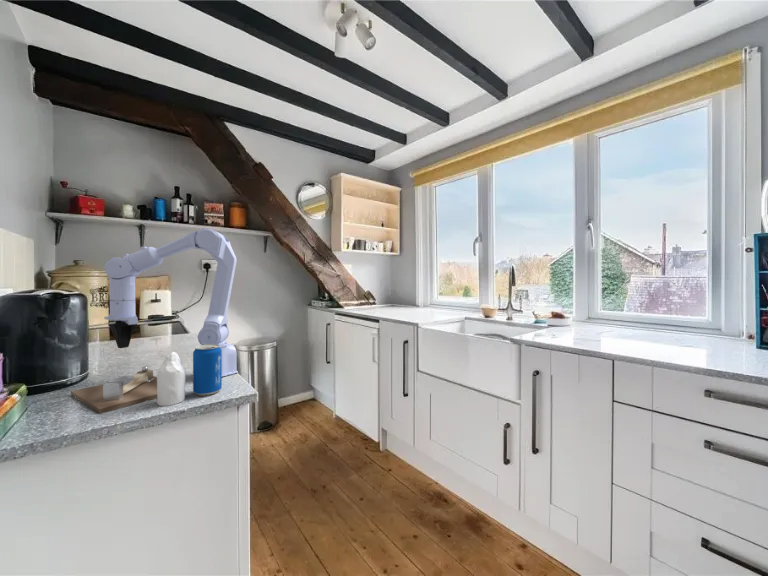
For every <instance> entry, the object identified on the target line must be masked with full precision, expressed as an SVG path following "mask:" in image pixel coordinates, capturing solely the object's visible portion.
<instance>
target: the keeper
mask: <svg viewBox="0 0 768 576" xmlns="http://www.w3.org/2000/svg"><path fill="white" fill-rule="evenodd" d="M148 370H149V366H147V365H146V366H142V367H141V371H148ZM153 379H154V378H152V379H150V380H147V381H145V382H148V381H151V380H153ZM132 380H134V376H133V375H119V376H117V377H115V378H113V379H111V380H109V381H107V382H105V383H103V401H106V400H120V399H121V398H123V385H125V384H127V383H129V382H131V381H132Z"/></svg>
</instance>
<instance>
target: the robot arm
mask: <svg viewBox="0 0 768 576" xmlns="http://www.w3.org/2000/svg"><path fill="white" fill-rule="evenodd" d="M139 248H140V250H137V251H135V252H132V253H130V254H129V253H125V254H123V258H121V257H112V258H111V259H109V260H108V261H106V263H104V264H105V265H104V271H105V274H106V275H107V276H108V277H109V315H108V316H104V320H109V322H114V323H108V327H109V329H110V330H111V332H112V334H113V337H114V340H115V343H116V346H117V348H118V349H124V348H126V349H127V348H129V346H130V344H131V339H132V336H133V333H134V331H135V329H136V328H137V326H138V323H139V322H138V320H139V319H138V318H139V317H138V316H137V314H136V278H137V277H138V275H139V274H141V273H144V272H146V271H148V270H150V269H154V268H155V267H158V266H161V265H162V264H163V262H164V259H167V258H169V257H171V256H175V255H177V254H180V253H183V252H186V251H188V250H192V249H193V250H204V251H205V252H206V253H208V254H210V256H211V257H212V258H213V259H214V260H215V261H216V264H217V265H216V271H215V276H214V279H213V280H214V282H213V287H212V290H211V291H212V292H211V296H210V297H211V298H210V302H209V306H208V307H209V308H208V314H207V316H206V318H205V319H204V320H203V321H204V322H203V327H202V328H201V329H200V330H199V332H198V335H197V340H198V343H199V345H207V344H217V345H220V348H221V350H222V378H223V377H226V376H231V375H234V374H238V373H239V371H238V370H237V369H238V368H237V365H238V363H237V362H238V361H237V360H238V359H237V358H238V356H237V355H238V353H237V349H236V347H235V345H233V343H228V342H227V338H229V334H230V329H229V326H228V321H229V319H228V309H229V306H230V301H231V294H232V288H233V283H234V280H235V279H234V278H235V272H236V267H237V256H236V254H235V251H234V250H233V248H232V245H231V241H230V240H229V239H228V238H227V237H226V236H225V235H224V234H222V233H220V232H218V231H216V230H214V229H213V228H210V227H209V228H208V227H205V228H201V229H199V230H195V231H192V232H190V233H188V234H186V235H184V236H181V237H180V238H177V239H175V240H173V241H171V242H168V243H166V244H164V245H162V246H160V247H157V248H156V247H153V246H142V247H139ZM233 370H234V371H236V373H235V372H234V371H233Z"/></svg>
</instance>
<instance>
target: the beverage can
mask: <svg viewBox="0 0 768 576" xmlns="http://www.w3.org/2000/svg"><path fill="white" fill-rule="evenodd" d="M194 348H195V349H194V351H193V352H192V389H193V390H192V392H193V393H194V394H196V395H197V396H199V397H204V396H205V395H207V396H211V395H210V394H212V395H215V394H217V393H219V391H221V390H222V388H223V386H222V385H223V383H222V382H223V381H222V380H223V377H222V350H221V348H220V345H217V344H207V345H201V344H199V345H196V346H195V347H194ZM216 392H217V393H216ZM214 393H215V394H214Z"/></svg>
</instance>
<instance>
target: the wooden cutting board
mask: <svg viewBox="0 0 768 576" xmlns="http://www.w3.org/2000/svg"><path fill="white" fill-rule="evenodd" d="M153 378H154V379H153V380H151V381H148V382H143V383H142V384H140V385H138V386H136V387H135V388H133V389H131V390H129V391H128V392H126V393H124V394H123V398H121V399H120V400H106V401H103V384H104V383H103V384H97V385H95V386H89V387H85V388H83V387H82V388H80V389H74V390H71V391H70V396H72V395H73V396H74V397H73V396H72V397H73V398H75V397H76V398H77V399H76V398H75V399H76V400H78V399H79V400H80V401H79V400H78V401H79V402H81V401H82V402H83V403H82V402H81V403H82V404H84V405H85V404H86V406H87V407H88V408H90V409H92V410H93V411H95V412H96V413H98V414H103V413H107V412H111V411H115V410H119V409H123V408H126V407H130V406H134V405H136V404H141V403H145V402H148V401H151V400H157V376H155V375H153Z"/></svg>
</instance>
